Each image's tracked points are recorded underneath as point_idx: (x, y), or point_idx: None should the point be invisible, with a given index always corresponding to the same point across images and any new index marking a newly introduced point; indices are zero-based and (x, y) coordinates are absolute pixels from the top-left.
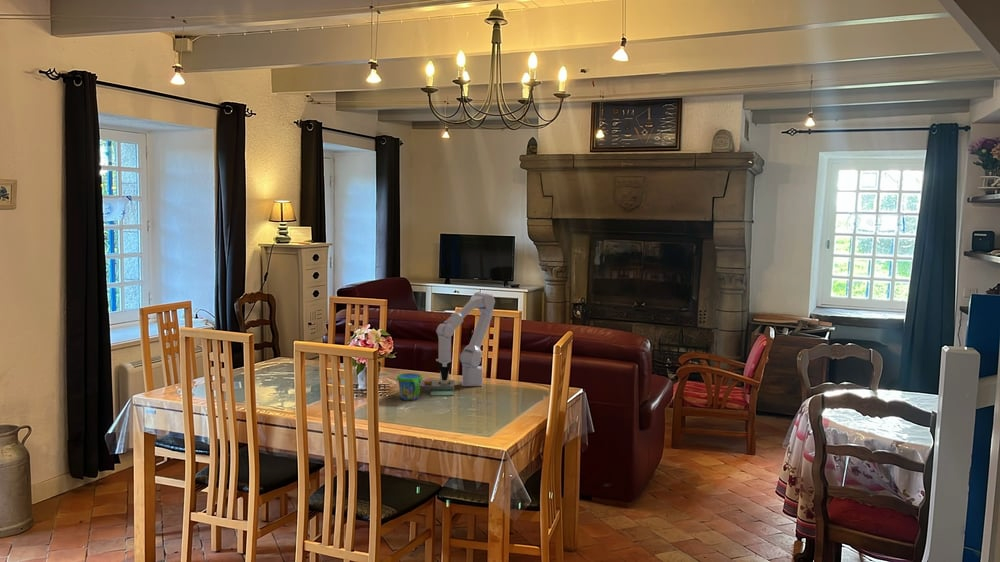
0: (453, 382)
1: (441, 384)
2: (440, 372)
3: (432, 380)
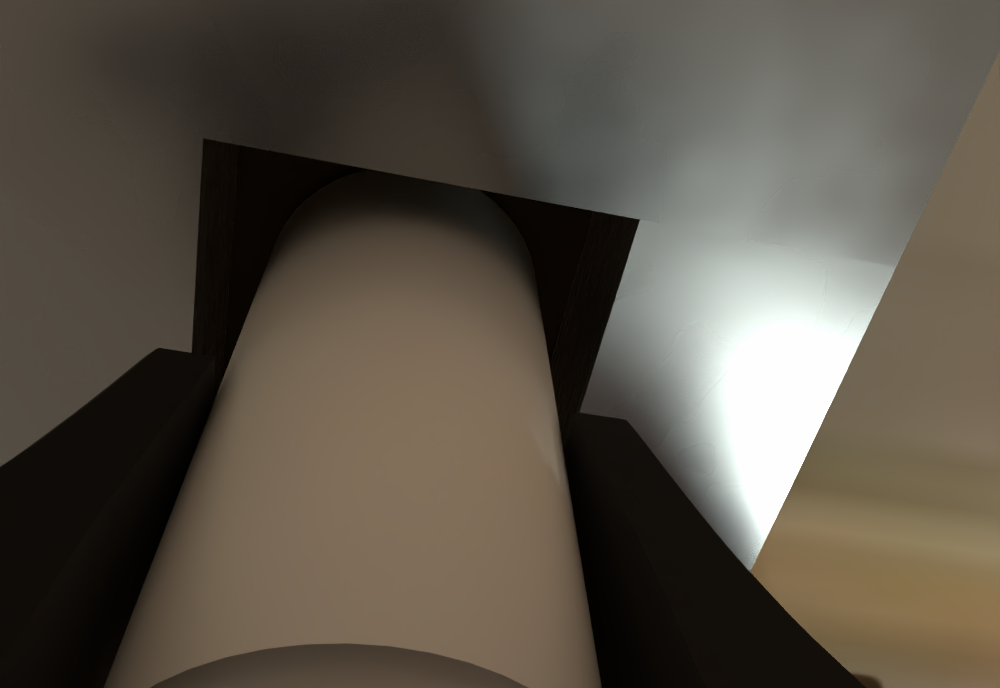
0: None
1: (199, 237)
2: (307, 514)
3: (967, 18)
